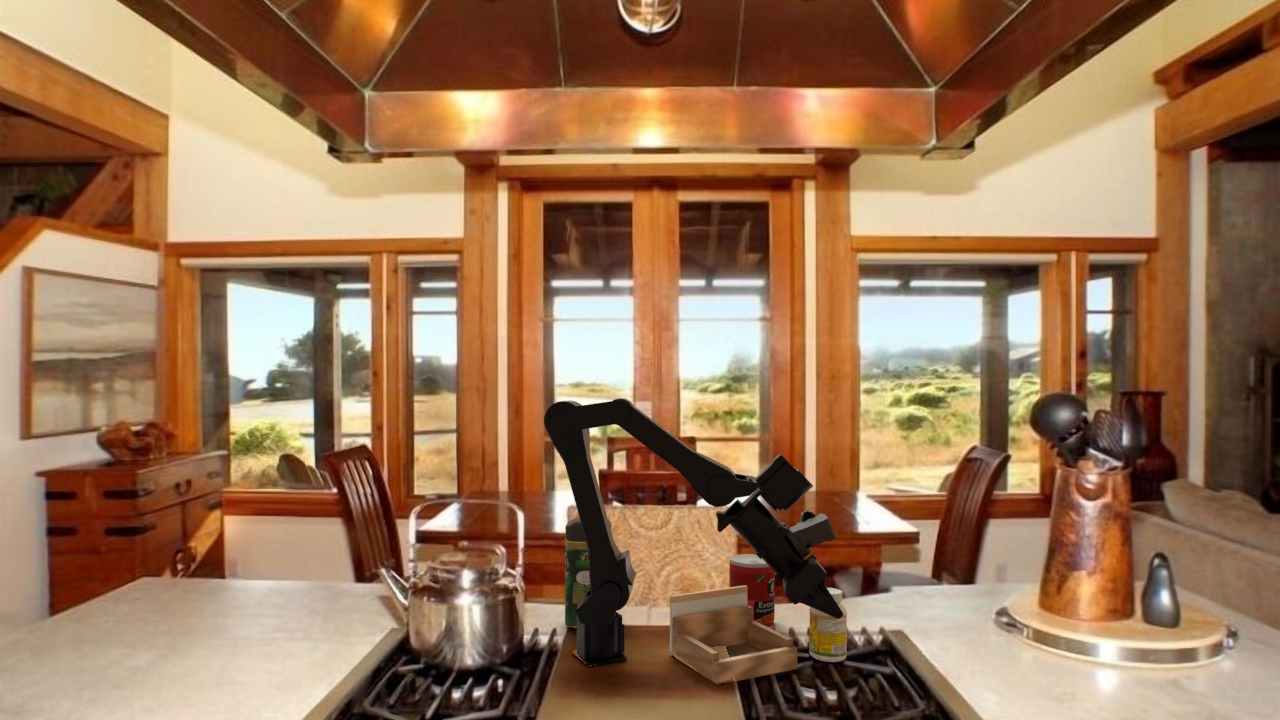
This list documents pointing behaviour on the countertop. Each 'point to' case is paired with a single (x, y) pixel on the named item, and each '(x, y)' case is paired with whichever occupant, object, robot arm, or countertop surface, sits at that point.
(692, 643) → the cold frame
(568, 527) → the coffee jar
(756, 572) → the canned food
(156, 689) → the countertop surface
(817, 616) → the supplement bottle
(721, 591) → the lid panel
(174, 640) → the countertop surface
